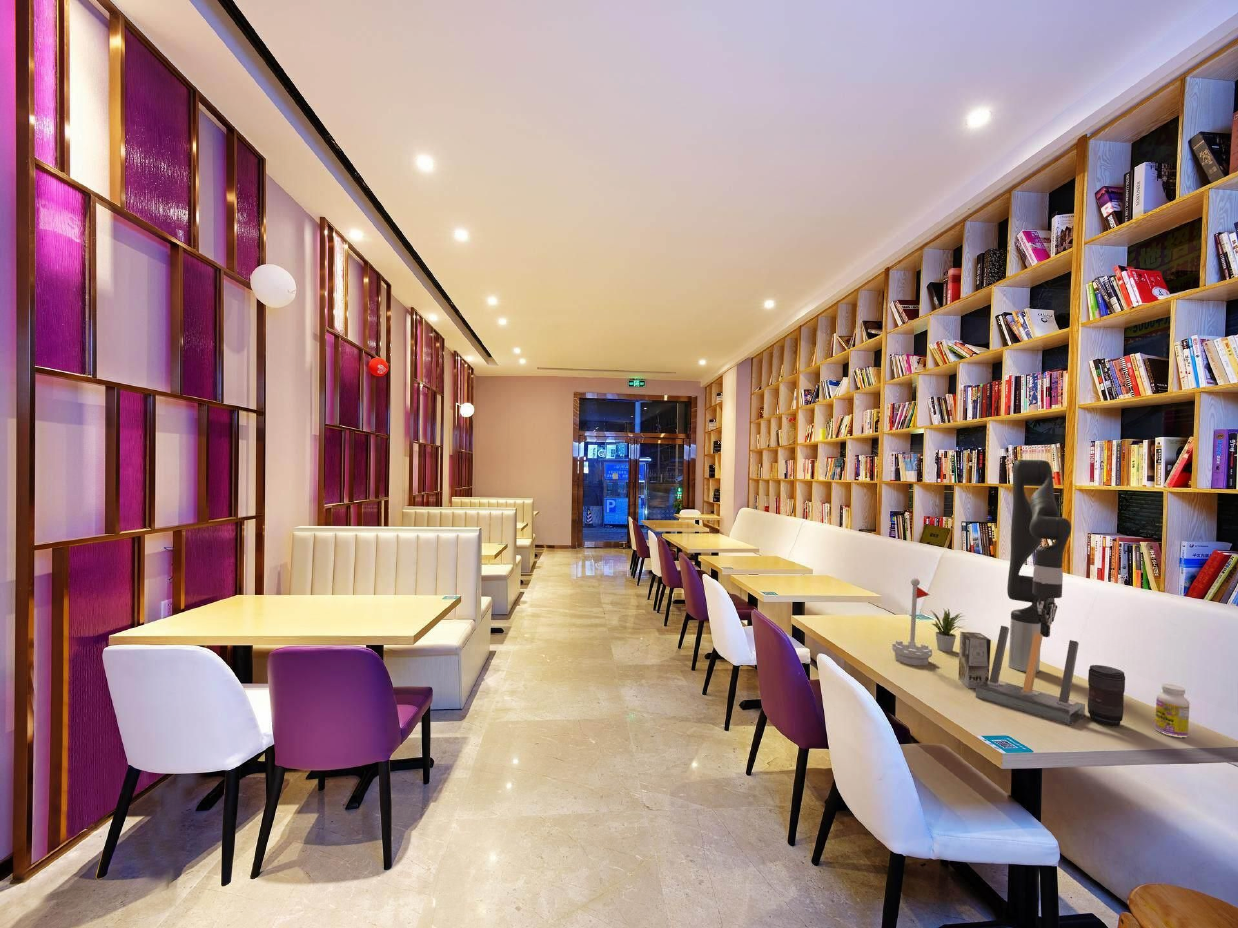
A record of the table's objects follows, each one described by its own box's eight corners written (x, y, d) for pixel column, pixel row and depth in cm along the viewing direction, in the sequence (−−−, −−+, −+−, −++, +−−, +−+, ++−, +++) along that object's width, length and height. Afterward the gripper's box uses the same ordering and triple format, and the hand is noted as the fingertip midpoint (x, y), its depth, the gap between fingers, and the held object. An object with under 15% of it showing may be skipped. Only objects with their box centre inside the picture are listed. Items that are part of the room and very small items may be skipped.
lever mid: (1021, 694, 181) (1033, 633, 186) (1032, 697, 179) (1044, 635, 184) (1020, 693, 180) (1032, 631, 185) (1031, 696, 178) (1042, 634, 183)
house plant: (976, 657, 228) (978, 614, 228) (939, 655, 228) (941, 612, 229) (956, 646, 243) (958, 605, 243) (921, 644, 243) (923, 603, 243)
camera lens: (1079, 718, 173) (1082, 665, 173) (1097, 714, 176) (1099, 663, 176) (1112, 729, 165) (1114, 675, 165) (1129, 726, 168) (1132, 672, 169)
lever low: (988, 685, 188) (1001, 626, 193) (998, 688, 186) (1011, 628, 191) (986, 683, 187) (999, 625, 192) (996, 686, 185) (1009, 627, 190)
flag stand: (885, 658, 221) (889, 576, 221) (900, 652, 230) (904, 573, 230) (922, 668, 212) (927, 582, 212) (937, 661, 220) (941, 579, 220)
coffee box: (989, 690, 192) (991, 639, 192) (967, 688, 193) (969, 637, 194) (978, 681, 201) (980, 632, 201) (957, 678, 202) (959, 630, 202)
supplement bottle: (1148, 728, 168) (1150, 681, 168) (1170, 728, 168) (1172, 682, 169) (1172, 739, 161) (1174, 690, 161) (1194, 739, 162) (1197, 691, 162)
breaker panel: (993, 688, 194) (993, 676, 194) (1084, 714, 176) (1085, 701, 176) (975, 696, 186) (976, 684, 186) (1069, 725, 167) (1070, 711, 167)
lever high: (1057, 705, 174) (1069, 641, 179) (1069, 708, 172) (1080, 643, 177) (1056, 703, 173) (1067, 639, 178) (1067, 706, 171) (1079, 641, 176)
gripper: (1040, 577, 195) (1038, 630, 195) (1026, 580, 187) (1023, 636, 187) (1068, 581, 190) (1066, 636, 189) (1055, 584, 181) (1052, 642, 181)
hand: (1044, 636), depth 188 cm, fingers closed
